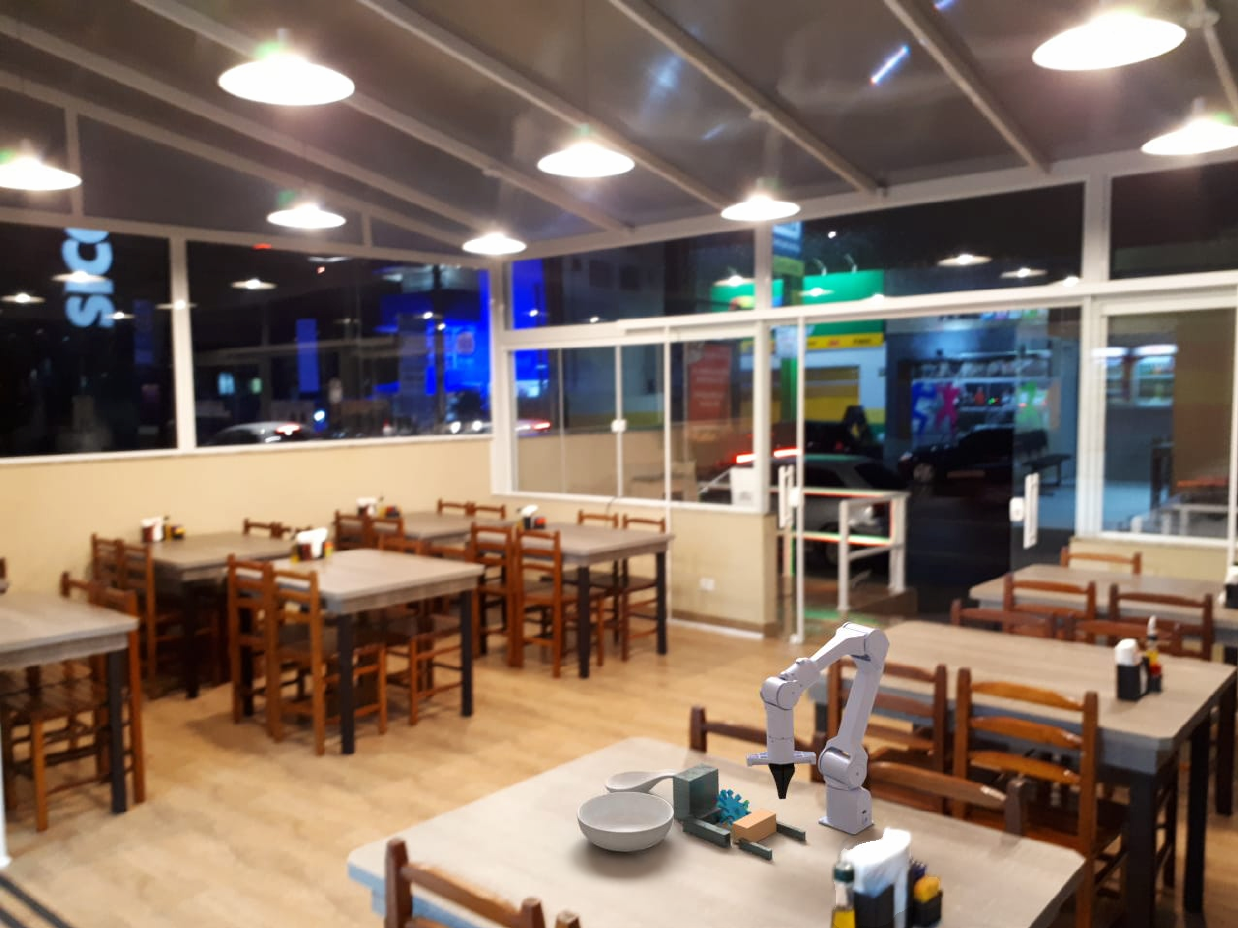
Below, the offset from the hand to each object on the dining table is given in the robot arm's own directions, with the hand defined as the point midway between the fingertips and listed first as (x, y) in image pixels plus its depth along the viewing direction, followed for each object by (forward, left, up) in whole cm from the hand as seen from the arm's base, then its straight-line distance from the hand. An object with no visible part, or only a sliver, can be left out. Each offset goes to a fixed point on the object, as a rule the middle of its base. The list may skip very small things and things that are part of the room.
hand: (781, 797), depth 203 cm
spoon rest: (+37, +2, -10) cm, 38 cm away
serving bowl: (+25, +22, -10) cm, 35 cm away
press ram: (+6, +2, -10) cm, 11 cm away
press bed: (+11, +3, -10) cm, 15 cm away
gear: (+12, 0, -10) cm, 16 cm away
